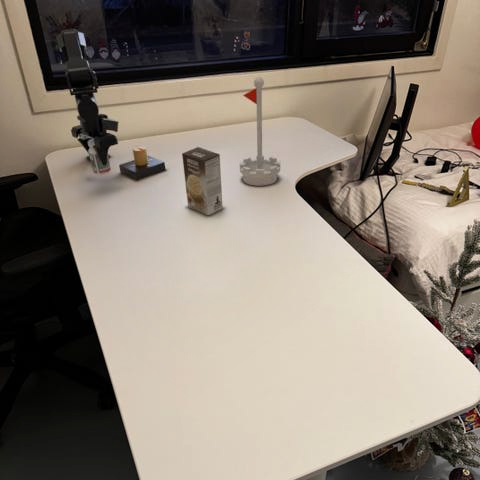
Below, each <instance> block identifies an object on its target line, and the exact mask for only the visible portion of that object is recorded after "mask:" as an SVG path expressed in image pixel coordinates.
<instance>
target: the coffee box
mask: <svg viewBox="0 0 480 480" xmlns="http://www.w3.org/2000/svg"><path fill="white" fill-rule="evenodd" d="M181 156H182V166H183V174H184V182H185V184H184V185H185V191H186V192H185V193H186V201H187V207H188V208H189V209H192V210H194V211H195V212H199V213H201V214H204V215H206V216H210V215H212V214H214V213H217V212H218V211H220V210H223V207H224V206H223V191H222V190H223V189H222V174H221V173H222V172H221V154H220V153H217V152H214V151H211V150H208V149H205V148H202V147H200V146H196V147H194V148H192V149H189V150H187V151H184V152H182V153H181Z"/></svg>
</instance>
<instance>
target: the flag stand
mask: <svg viewBox="0 0 480 480" xmlns="http://www.w3.org/2000/svg"><path fill="white" fill-rule="evenodd" d="M264 85H265V81H264V78H262V77H261V76H258V77H256V78H255V79H254V81H253V86H254V87H255V88H254V89H252V90H249V91H248V92H246V93H244V94H243V95H242V96H243V97H245V98H246V99H248V100H249V101H250V102H252V103H254V104H255V105H256V148H257V149H256V151H257V152H256V153H257V154H256V155H255V159H252V158H251V157H250V156H247V157H245V158H243V161H239V173H240V174H241V175H242V177H243V178H242V180H243V182H244V183H245V184H247V185H250V186H256V187H257V186H258V187H261V186H268V185H272V184H275V182H276V181H278V174H279V173H280V172H281V160H278V159H277V157H274V156H269V158H265V155H263V97H262V96H263V93H262V92H263V91H262V88H263V86H264Z"/></svg>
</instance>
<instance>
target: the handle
mask: <svg viewBox="0 0 480 480" xmlns="http://www.w3.org/2000/svg"><path fill="white" fill-rule="evenodd" d="M132 154H133V160H135V164H136V165H139V166H141V165H146V164H148V159H147V156H148V152H147V147H146V146H143V145H142V146H141V145H138V146H135V147H132Z"/></svg>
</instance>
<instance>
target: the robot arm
mask: <svg viewBox="0 0 480 480" xmlns="http://www.w3.org/2000/svg"><path fill="white" fill-rule="evenodd" d="M55 37H56V41H57V44H58V45H57V46H58V49H59V52H62V55H63V58H64V60H65V61H66V63H65V66H66V70H64V73H65V77H66V81H67V86H68V90H69V94H70V96H71V97H73V96H74V99H75V104H76V109H77V113H78V115H76V118H77V120H78V121H79V125H74V126H72V128H71V130H70V132H71V137H73V138H75V139H77V141H78V142H79V143H80V145H81V147H83V149H84V150H85V151H86V153H87V154H88V155H87V156H86V159H88V160H90V156H89V152H88V150H89V148H90V147H89V146H88V141H89V140H92V139H94V144H95V145H94V146H93V148H94V150H95V152H96V154H97V155H98V157H99V159H100V161H101V162H102V164H103V165H107V156H108V158H111V155H109V149H110V148H111V147H112V146H116V145H119V140H118V137H117V136H116V135H115V134H113V133H110V132H111V131H112V132H115V133H118V131H119V121H118V120H115V119H112V118H109V116H108V115H107V114H105V113H100V109H99V107H98V103H97V100H96V95H95V94H97V93H98V92H99V91H98V89H100V88H99V83H98V79H97V75H96V71H94V69H93V68H92V67H90V64H89V61H88V60H87V59H86V57H87V56H86V55H87V54H86V50H88V49H87V44H86V43H87V42H86V38H85V34H84V33H83V32H80V31H78V29H76V28H72V29H71V28H70V29H63V30H60V33H59V34H57V35H56V36H55ZM108 131H110V132H108Z"/></svg>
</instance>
